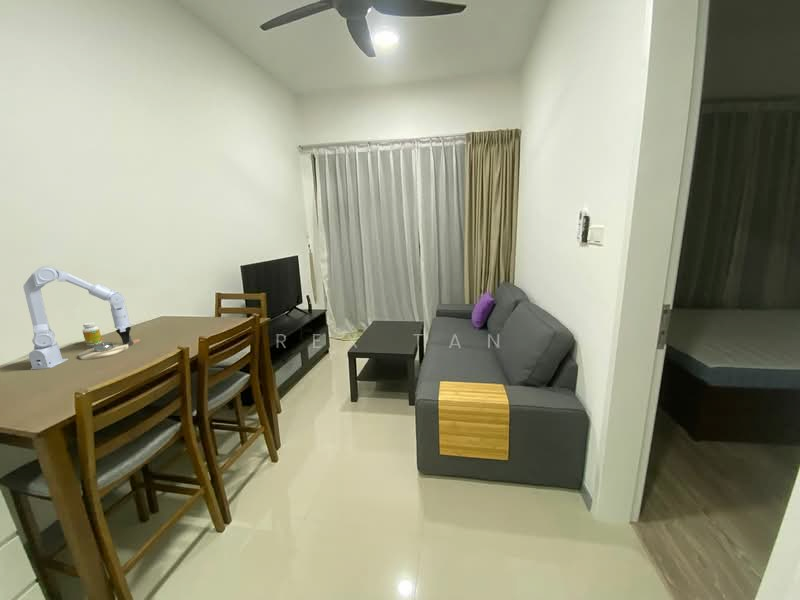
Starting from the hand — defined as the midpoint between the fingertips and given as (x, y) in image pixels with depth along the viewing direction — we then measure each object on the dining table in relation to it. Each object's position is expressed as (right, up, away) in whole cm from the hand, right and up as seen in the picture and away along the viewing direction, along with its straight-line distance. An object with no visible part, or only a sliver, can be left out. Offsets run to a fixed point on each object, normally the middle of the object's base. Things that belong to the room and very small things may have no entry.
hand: (126, 342), depth 163 cm
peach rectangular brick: (-1, -1, +7) cm, 7 cm away
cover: (-5, -3, -6) cm, 9 cm away
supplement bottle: (-23, -2, +7) cm, 24 cm away
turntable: (-6, -4, -6) cm, 9 cm away
